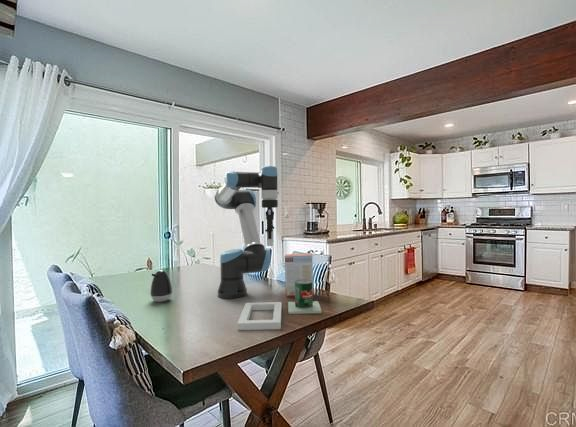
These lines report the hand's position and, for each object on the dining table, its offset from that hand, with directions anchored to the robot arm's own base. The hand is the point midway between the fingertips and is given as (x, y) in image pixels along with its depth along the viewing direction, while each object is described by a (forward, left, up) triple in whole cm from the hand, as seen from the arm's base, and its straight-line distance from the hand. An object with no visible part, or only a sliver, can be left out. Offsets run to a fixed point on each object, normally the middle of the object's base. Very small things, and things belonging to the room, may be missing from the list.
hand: (270, 244), depth 153 cm
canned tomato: (+15, -10, -27) cm, 33 cm away
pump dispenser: (-55, +7, -28) cm, 62 cm away
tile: (+15, -11, -28) cm, 33 cm away
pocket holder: (-3, -22, -28) cm, 35 cm away
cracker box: (+14, +11, -28) cm, 33 cm away
